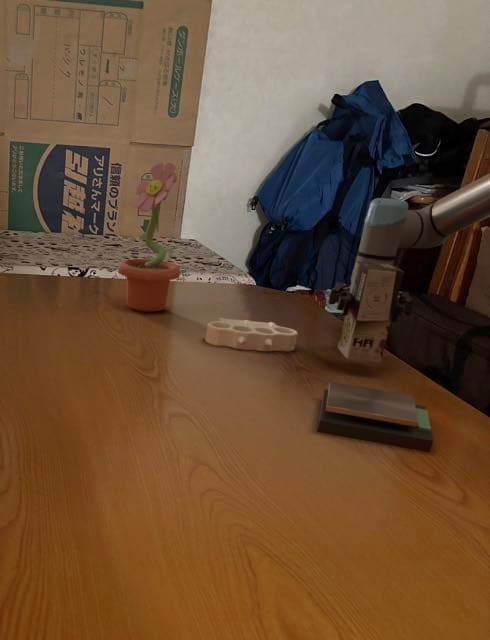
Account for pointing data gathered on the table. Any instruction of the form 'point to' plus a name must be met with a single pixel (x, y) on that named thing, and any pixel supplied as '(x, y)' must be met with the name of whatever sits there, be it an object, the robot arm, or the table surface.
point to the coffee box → (370, 310)
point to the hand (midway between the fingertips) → (371, 310)
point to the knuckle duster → (250, 335)
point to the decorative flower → (151, 274)
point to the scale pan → (371, 404)
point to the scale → (378, 428)
